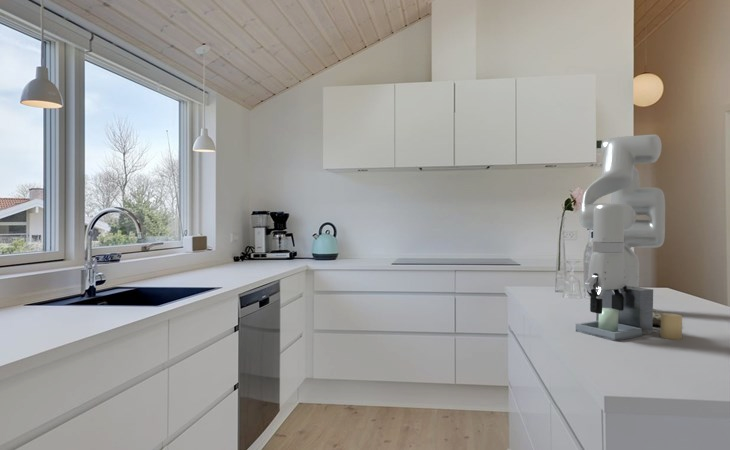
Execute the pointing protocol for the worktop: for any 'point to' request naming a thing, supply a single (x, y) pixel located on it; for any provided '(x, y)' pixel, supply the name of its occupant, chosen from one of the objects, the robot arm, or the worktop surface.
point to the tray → (622, 333)
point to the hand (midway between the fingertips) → (606, 311)
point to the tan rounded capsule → (671, 326)
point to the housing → (633, 308)
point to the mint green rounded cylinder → (608, 320)
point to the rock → (656, 318)
